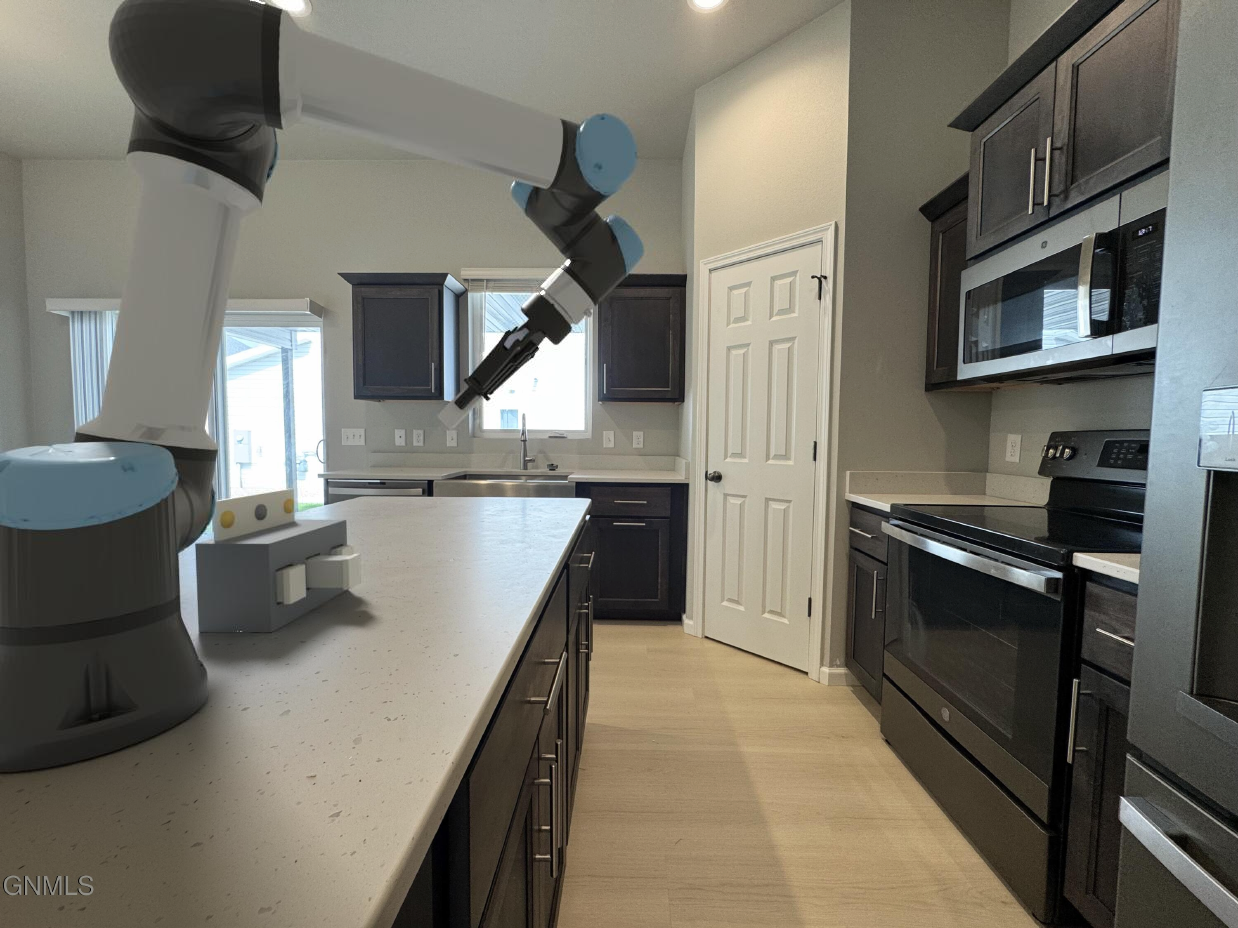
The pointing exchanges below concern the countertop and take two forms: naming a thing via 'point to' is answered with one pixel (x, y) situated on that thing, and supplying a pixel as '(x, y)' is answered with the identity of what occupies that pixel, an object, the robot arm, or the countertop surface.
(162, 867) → the countertop surface
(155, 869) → the countertop surface
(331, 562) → the button middle
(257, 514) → the pattern sign
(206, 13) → the robot arm
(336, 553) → the button far
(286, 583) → the button near
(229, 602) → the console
